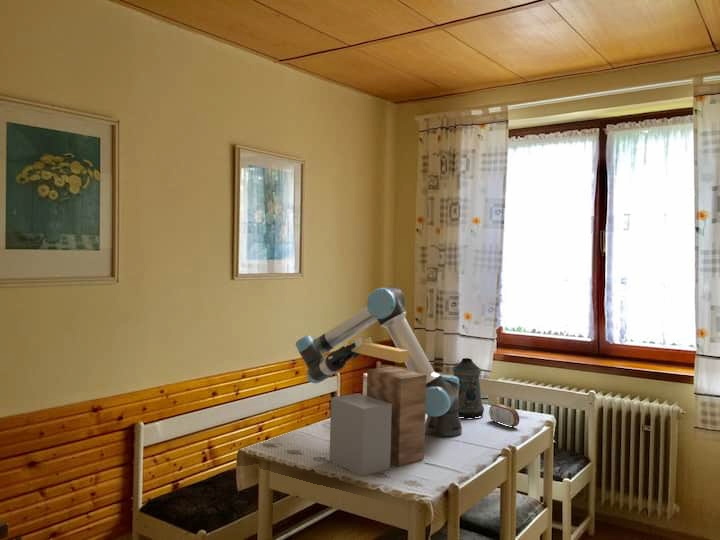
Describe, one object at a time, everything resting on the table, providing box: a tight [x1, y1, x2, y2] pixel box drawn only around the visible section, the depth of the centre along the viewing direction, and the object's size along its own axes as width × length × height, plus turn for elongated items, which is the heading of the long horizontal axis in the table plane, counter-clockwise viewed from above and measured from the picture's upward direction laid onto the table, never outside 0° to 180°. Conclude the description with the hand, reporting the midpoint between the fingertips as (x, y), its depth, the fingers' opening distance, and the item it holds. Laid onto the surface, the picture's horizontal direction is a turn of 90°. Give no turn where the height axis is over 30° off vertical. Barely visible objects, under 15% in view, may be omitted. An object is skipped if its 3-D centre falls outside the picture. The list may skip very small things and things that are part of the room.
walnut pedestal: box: [366, 366, 426, 467], centre depth 221 cm, size 18×12×30 cm, turn 39°
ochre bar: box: [347, 339, 408, 364], centre depth 228 cm, size 29×4×4 cm, turn 39°
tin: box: [488, 402, 520, 428], centre depth 265 cm, size 15×3×8 cm, turn 35°
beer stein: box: [452, 357, 485, 418], centre depth 281 cm, size 16×19×25 cm
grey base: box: [329, 393, 392, 477], centre depth 211 cm, size 18×12×22 cm, turn 39°
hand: (365, 341), depth 233 cm, fingers closed on ochre bar, 4 cm apart
